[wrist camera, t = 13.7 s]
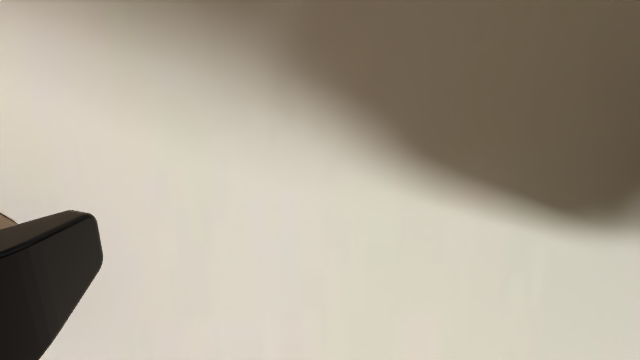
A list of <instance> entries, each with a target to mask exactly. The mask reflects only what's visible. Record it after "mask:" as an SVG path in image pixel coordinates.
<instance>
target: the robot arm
mask: <svg viewBox="0 0 640 360" xmlns="http://www.w3.org/2000/svg"><path fill="white" fill-rule="evenodd" d="M102 261H103V252H102V246H101V241H100V235H99V230H98V224H97V220H96V219H95V217H94V216H93V215H92V214H90V213H85V212H79V211H74V210H68V211H64V212H60V213H57V214H53V215H50V216H46V217H42V218H39V219H35V220H32V221H28V222H25V223H21V224H18V225H14V226H10V227H7V228H3V229H0V360H39V359H40V358H41V356H42V355H43V354H44V353H45V351H46V350H47V349H48V347H49V346H50V345H51V343H52V342H53V340H54V339H55V338H56V336H57V335H58V333H59V332H60V330H61V329H62V327H63V326H64V324H65V323H66V321H67V319H68V318H69V316H70V315H71V313H72V312H73V310H74V309H75V307H76V306H77V304H78V302H79V301H80V299H81V298H82V296H83V295H84V293H85V292H86V290H87V289H88V287H89V286H90V284H91V282H92V281H93V279H94V278H95V276H96V275H97V273H98V272H99V270H100V268H101V265H102Z"/></svg>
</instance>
